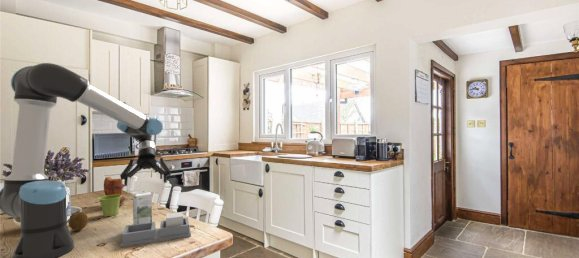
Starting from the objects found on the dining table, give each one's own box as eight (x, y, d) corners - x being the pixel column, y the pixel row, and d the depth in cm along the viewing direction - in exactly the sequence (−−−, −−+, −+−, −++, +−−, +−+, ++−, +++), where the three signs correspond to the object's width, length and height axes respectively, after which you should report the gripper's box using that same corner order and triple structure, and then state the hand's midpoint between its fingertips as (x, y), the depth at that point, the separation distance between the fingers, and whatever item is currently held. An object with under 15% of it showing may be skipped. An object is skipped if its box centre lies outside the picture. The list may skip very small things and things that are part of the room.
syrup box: (148, 225, 121) (147, 190, 121) (152, 228, 117) (151, 193, 117) (133, 228, 118) (132, 193, 118) (137, 232, 113) (136, 195, 113)
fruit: (90, 227, 120) (89, 208, 120) (84, 232, 114) (84, 212, 114) (72, 229, 119) (72, 209, 118) (66, 234, 113) (65, 214, 112)
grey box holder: (120, 247, 99) (119, 226, 99) (125, 236, 109) (124, 217, 109) (190, 236, 108) (190, 217, 108) (189, 227, 118) (188, 209, 118)
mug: (128, 205, 153) (127, 177, 153) (112, 209, 147) (111, 179, 146) (114, 202, 161) (113, 175, 161) (98, 205, 154) (97, 177, 154)
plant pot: (104, 219, 131) (104, 200, 131) (95, 216, 136) (94, 197, 136) (125, 213, 138) (125, 195, 138) (116, 210, 144) (115, 193, 144)
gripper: (175, 155, 145) (176, 191, 132) (118, 158, 136) (113, 197, 122) (175, 145, 141) (176, 182, 127) (116, 148, 131) (111, 187, 117)
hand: (145, 189), depth 125 cm, fingers open, 13 cm apart
